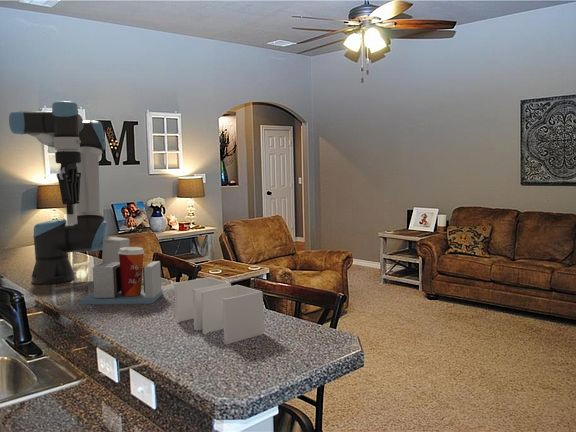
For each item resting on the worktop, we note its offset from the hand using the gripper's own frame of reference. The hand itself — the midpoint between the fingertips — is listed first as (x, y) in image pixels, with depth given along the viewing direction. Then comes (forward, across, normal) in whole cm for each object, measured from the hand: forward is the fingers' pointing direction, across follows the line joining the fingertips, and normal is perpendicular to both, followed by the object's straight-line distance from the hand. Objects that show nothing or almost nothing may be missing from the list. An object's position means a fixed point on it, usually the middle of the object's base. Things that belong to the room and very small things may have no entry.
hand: (72, 224), depth 169 cm
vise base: (+25, -2, -16) cm, 29 cm away
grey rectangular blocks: (+24, -34, -52) cm, 67 cm away
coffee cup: (+23, -2, -19) cm, 30 cm away
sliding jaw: (+23, -2, -12) cm, 26 cm away
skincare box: (+25, +32, -2) cm, 41 cm away
